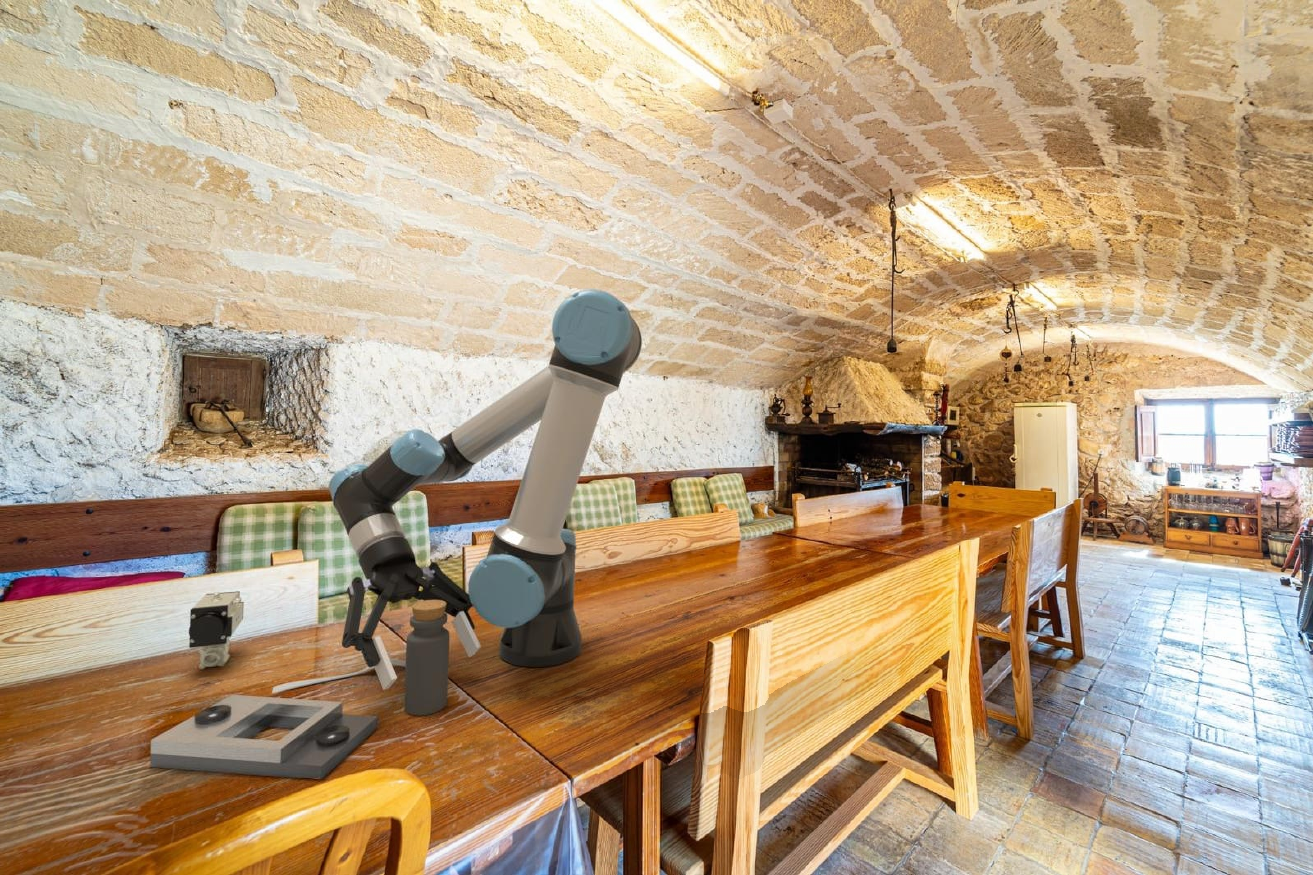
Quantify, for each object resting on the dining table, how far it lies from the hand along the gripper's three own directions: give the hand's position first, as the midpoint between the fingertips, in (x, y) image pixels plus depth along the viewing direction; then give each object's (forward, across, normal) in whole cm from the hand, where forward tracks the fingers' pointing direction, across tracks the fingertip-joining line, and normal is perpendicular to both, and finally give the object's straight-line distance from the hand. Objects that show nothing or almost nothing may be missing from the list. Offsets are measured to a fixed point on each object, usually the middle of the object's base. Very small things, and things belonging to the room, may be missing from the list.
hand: (435, 667), depth 77 cm
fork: (-10, +2, -19) cm, 22 cm away
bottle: (+3, 0, -6) cm, 7 cm away
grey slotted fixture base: (-1, +17, -10) cm, 20 cm away
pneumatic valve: (-25, +13, -34) cm, 44 cm away
